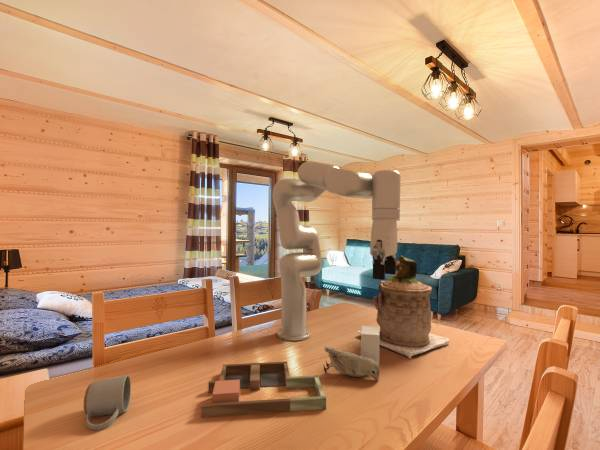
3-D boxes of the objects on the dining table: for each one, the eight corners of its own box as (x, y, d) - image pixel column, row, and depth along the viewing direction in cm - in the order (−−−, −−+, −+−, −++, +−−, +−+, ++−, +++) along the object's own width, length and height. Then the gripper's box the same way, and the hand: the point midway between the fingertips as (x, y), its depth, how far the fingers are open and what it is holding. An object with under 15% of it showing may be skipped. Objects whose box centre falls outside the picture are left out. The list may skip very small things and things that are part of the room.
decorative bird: (378, 386, 84) (378, 358, 84) (321, 375, 90) (321, 349, 90) (380, 377, 89) (380, 350, 89) (325, 367, 95) (326, 342, 95)
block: (215, 396, 79) (215, 380, 79) (239, 395, 80) (239, 379, 79) (212, 411, 73) (212, 394, 73) (238, 409, 74) (238, 392, 74)
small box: (379, 370, 93) (379, 335, 93) (360, 368, 94) (360, 333, 94) (378, 358, 101) (378, 326, 101) (360, 357, 102) (361, 325, 102)
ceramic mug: (92, 405, 74) (92, 373, 74) (131, 399, 77) (131, 369, 76) (75, 436, 64) (75, 399, 64) (121, 428, 66) (120, 393, 66)
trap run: (214, 373, 90) (214, 365, 90) (311, 368, 94) (311, 360, 94) (201, 417, 70) (201, 406, 70) (326, 408, 74) (326, 398, 74)
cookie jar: (452, 344, 114) (454, 256, 113) (410, 361, 100) (411, 260, 99) (396, 324, 134) (398, 250, 133) (355, 336, 120) (356, 253, 119)
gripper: (382, 215, 96) (381, 271, 97) (361, 214, 82) (360, 279, 82) (407, 215, 92) (406, 273, 93) (389, 214, 78) (388, 283, 78)
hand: (384, 276), depth 88 cm, fingers open, 9 cm apart
